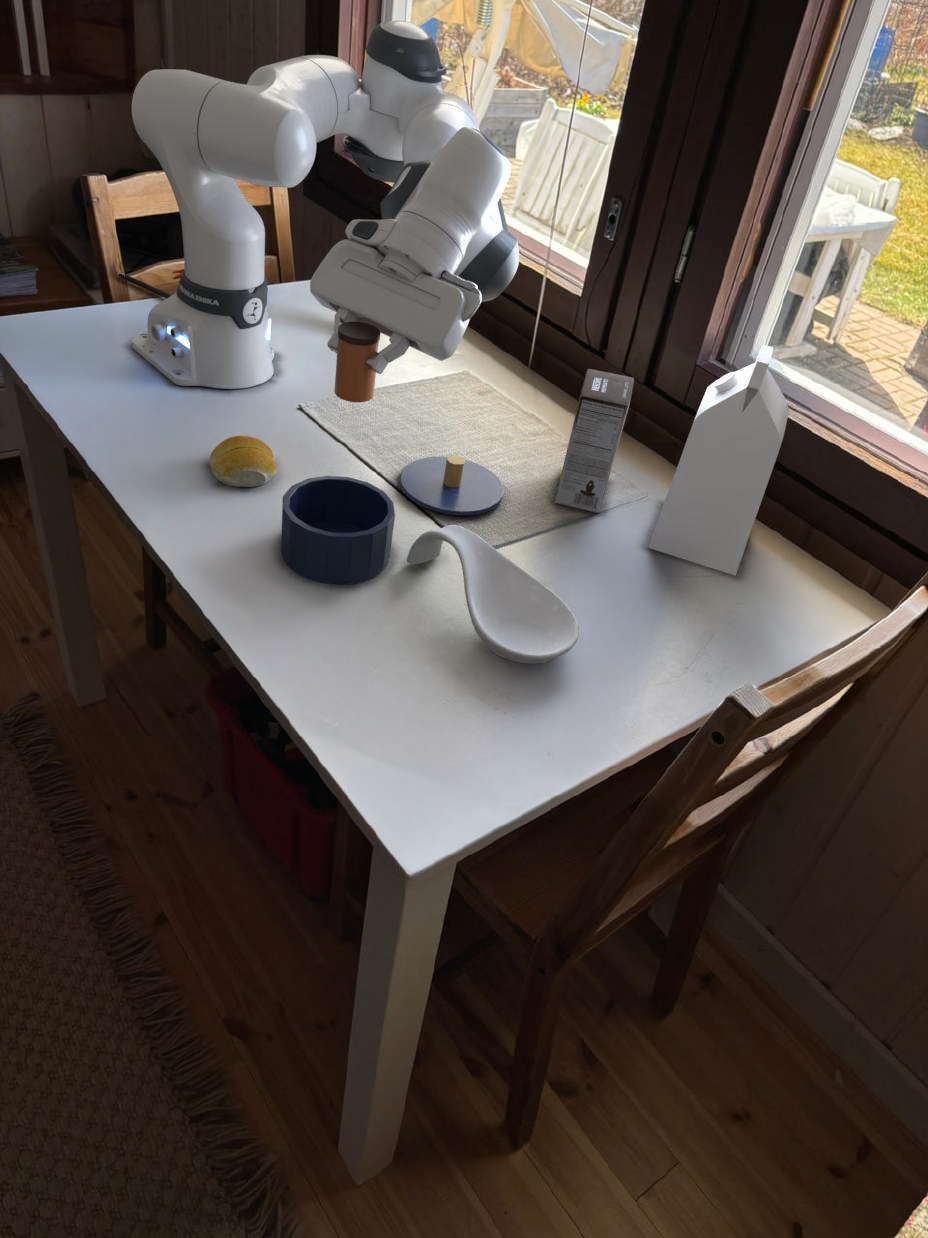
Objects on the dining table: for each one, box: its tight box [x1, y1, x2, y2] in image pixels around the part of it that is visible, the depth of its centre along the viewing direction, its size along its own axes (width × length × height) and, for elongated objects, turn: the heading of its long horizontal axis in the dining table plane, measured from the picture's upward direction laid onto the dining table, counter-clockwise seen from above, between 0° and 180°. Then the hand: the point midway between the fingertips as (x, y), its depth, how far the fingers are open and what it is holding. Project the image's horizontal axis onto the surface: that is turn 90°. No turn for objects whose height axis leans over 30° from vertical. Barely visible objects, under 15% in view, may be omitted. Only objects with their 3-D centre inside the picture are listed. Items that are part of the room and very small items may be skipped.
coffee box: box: [554, 368, 635, 514], centre depth 126 cm, size 9×6×16 cm
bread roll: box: [208, 435, 278, 488], centre depth 122 cm, size 8×9×4 cm
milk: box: [647, 344, 790, 576], centre depth 118 cm, size 12×12×26 cm
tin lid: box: [399, 454, 504, 516], centre depth 125 cm, size 14×14×5 cm
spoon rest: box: [406, 524, 580, 664], centre depth 105 cm, size 24×12×7 cm, turn 40°
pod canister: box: [333, 322, 381, 403], centre depth 110 cm, size 5×5×8 cm
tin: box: [280, 475, 396, 586], centre depth 110 cm, size 13×13×7 cm
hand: (352, 359), depth 109 cm, fingers closed on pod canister, 4 cm apart
